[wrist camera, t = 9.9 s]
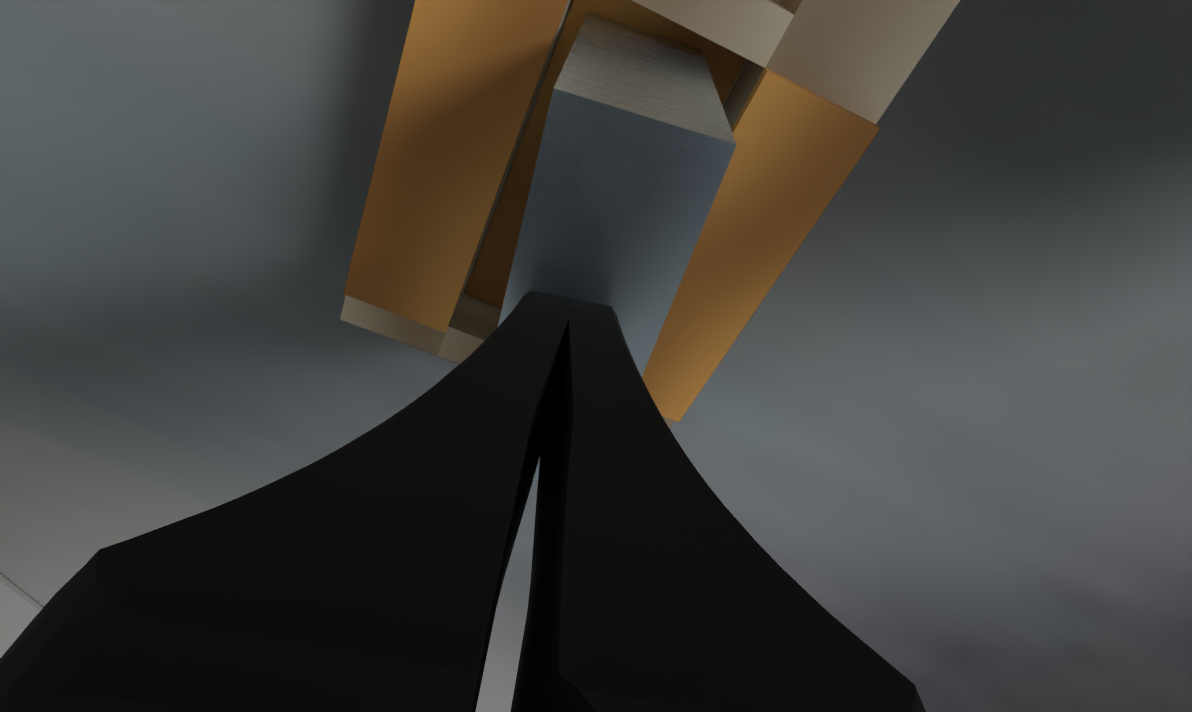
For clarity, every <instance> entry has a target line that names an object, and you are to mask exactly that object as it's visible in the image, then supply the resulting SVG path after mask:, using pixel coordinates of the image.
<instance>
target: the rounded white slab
mask: <svg viewBox="0 0 1192 712" xmlns="http://www.w3.org/2000/svg"><path fill="white" fill-rule="evenodd" d="M42 609H43V607H42V606H41V605H40V604H39V603H37V602H36V601H35V600H33V599H32V598H31V597H30V596H28V595H27V594H26V593H25V592H23V591H22V590H21V589H19V588H18V587H17V586H16V585H14V584H13V583H12V582H10V581H9V580H8V579H7V578H5V577H4V576H3V575H2V574H0V658H1V657H2V656H3V655H4V653H5V652H6V651H7V650H8V649H9V647H10V646H11V645H12V644H13V643H14V641H15V640H16V639H17V638H18V637H19V635H20V634H21V633H22V632H23V631H24V629H25V628H26V627H27V626H28V625H29V623H30V622H31V621H32V620H33V619H34V618H35V616H36V615H37V614H38V613H39V612H40V611H41V610H42Z"/></svg>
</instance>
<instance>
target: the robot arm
mask: <svg viewBox="0 0 1192 712" xmlns="http://www.w3.org/2000/svg"><path fill="white" fill-rule="evenodd" d="M539 458H540V462H539V475H538V489H537V502H536V516H535V530H534V544H533V558H532V572H531V585H530V594H529V602H528V611H527V618H526V624H525V630H524V636H523V642H522V648H521V654H520V660H519V666H518V672H517V678H516V684H515V690H514V695H513V701H512V707H511V712H926V711H925V708H924V706H923V704H922V701H921V699H920V697H919V694H918V692H917V689H916V687H915V685H914V684H913V683H912V682H911V681H910V680H908V679H907V678H906V677H905V676H904V675H902V674H901V673H900V672H899V671H898V670H896V669H895V668H894V667H893V666H892V665H890V664H889V663H888V662H887V661H886V660H884V659H883V658H882V657H881V656H880V655H878V654H877V653H876V652H875V651H874V650H873V649H871V648H870V647H869V646H868V645H867V644H865V643H864V642H863V641H862V640H861V639H859V638H858V637H857V636H856V635H855V634H853V633H852V632H851V631H850V630H849V629H847V628H846V627H845V626H844V625H843V624H841V623H840V622H839V621H838V620H837V619H835V618H834V617H833V616H832V615H831V614H830V613H829V612H828V611H826V610H825V609H824V608H823V607H822V606H821V605H820V604H819V603H818V602H817V601H816V600H815V599H814V598H813V597H811V596H810V595H809V594H808V593H807V592H806V591H805V590H804V589H803V588H802V587H801V586H800V585H799V584H798V583H797V582H796V581H795V580H794V579H793V578H792V577H791V576H789V575H788V574H787V573H786V572H785V571H784V570H783V569H782V568H781V567H780V566H779V565H778V564H777V563H776V562H775V561H774V560H773V559H772V558H771V556H770V555H769V554H768V553H767V552H766V551H765V550H764V549H763V548H762V547H761V546H760V545H759V544H758V543H757V542H756V541H755V540H754V539H753V537H752V536H751V535H750V534H749V533H748V532H747V531H746V530H745V528H744V527H743V526H742V525H741V524H740V523H739V522H738V521H737V519H736V518H735V517H734V516H733V515H732V514H731V513H730V512H729V510H728V509H727V508H726V507H725V506H724V505H723V503H722V502H721V501H720V500H719V499H718V497H717V496H716V495H715V494H714V492H713V491H712V490H711V489H710V487H709V486H708V485H707V483H706V482H705V481H704V479H703V478H702V477H701V475H700V474H699V473H698V471H697V470H696V468H695V467H694V466H693V464H692V463H691V461H690V460H689V458H688V457H687V456H686V454H685V453H684V451H683V450H682V448H681V446H680V445H679V443H678V442H677V440H676V439H675V437H674V435H673V434H672V432H671V430H670V429H669V427H668V425H667V424H666V422H665V420H664V419H663V417H662V415H661V413H660V412H659V410H658V408H657V406H656V404H655V402H654V401H653V399H652V397H651V395H650V393H649V391H648V389H647V387H646V385H645V383H644V381H643V379H642V377H641V375H640V373H639V371H638V369H637V366H636V364H635V362H634V360H633V358H632V355H631V353H630V350H629V348H628V346H627V343H626V341H625V338H624V336H623V333H622V330H621V327H620V324H619V321H618V318H617V314H616V313H615V311H614V310H613V308H612V307H611V306H607V305H602V304H597V303H592V302H587V301H582V300H577V299H572V298H567V297H562V296H557V295H552V294H547V293H542V292H538V291H533V290H532V291H530V292H528V293H526V294H525V295H523V297H522V298H521V300H520V301H519V303H518V304H517V305H516V307H515V308H514V309H513V310H512V312H511V313H510V314H509V315H508V316H507V318H506V319H505V320H504V321H503V322H502V323H501V324H500V325H499V327H498V328H497V329H496V330H495V331H494V332H493V333H492V334H491V335H490V336H489V337H488V338H487V339H486V340H485V341H484V342H483V343H482V344H481V345H480V346H479V347H478V348H477V349H476V350H475V351H474V352H473V353H472V354H471V355H470V356H468V357H467V358H466V359H465V360H464V361H463V362H462V363H461V364H459V365H458V366H457V367H456V368H455V369H454V370H452V371H451V372H450V373H449V374H448V375H446V376H445V377H444V378H443V379H442V380H440V381H439V382H438V383H437V384H436V385H435V386H433V387H432V388H431V389H430V390H428V391H427V392H426V393H424V394H423V395H422V396H420V397H419V398H418V399H416V400H415V401H414V402H412V403H411V404H409V405H408V406H407V407H405V408H404V409H402V410H401V411H399V412H398V413H396V414H395V415H393V416H392V417H390V418H389V419H387V420H386V421H385V422H383V423H381V424H380V425H378V426H377V427H375V428H373V429H372V430H370V431H368V432H367V433H365V434H363V435H362V436H360V437H358V438H357V439H355V440H353V441H352V442H350V443H348V444H347V445H345V446H343V447H342V448H340V449H338V450H336V451H334V452H333V453H331V454H329V455H327V456H325V457H324V458H322V459H320V460H318V461H316V462H314V463H312V464H310V465H308V466H306V467H304V468H302V469H300V470H298V471H296V472H294V473H291V474H289V475H287V476H285V477H283V478H281V479H279V480H277V481H275V482H273V483H270V484H268V485H266V486H264V487H262V488H260V489H257V490H255V491H253V492H251V493H248V494H246V495H244V496H242V497H239V498H237V499H234V500H232V501H230V502H227V503H225V504H222V505H220V506H217V507H215V508H213V509H210V510H207V511H204V512H202V513H199V514H196V515H194V516H191V517H188V518H186V519H183V520H180V521H178V522H175V523H172V524H169V525H167V526H164V527H161V528H159V529H156V530H153V531H151V532H148V533H145V534H143V535H140V536H137V537H134V538H132V539H129V540H126V541H123V542H120V543H117V544H114V545H111V546H109V547H106V548H103V549H100V550H99V551H98V552H97V553H96V554H95V555H94V556H93V557H92V558H91V559H90V560H89V561H88V562H87V564H86V565H85V566H84V567H83V568H82V569H81V570H80V571H78V572H77V573H76V574H75V575H74V576H73V577H72V578H71V579H70V580H69V581H68V582H67V583H66V584H65V585H64V586H63V587H62V588H61V589H60V590H59V591H58V592H57V593H56V594H55V595H54V596H53V597H52V598H51V600H50V601H49V602H48V603H47V604H46V605H45V606H44V607H43V609H42V610H41V611H40V612H39V613H38V614H37V615H36V616H35V618H34V619H33V620H32V621H31V622H30V623H29V625H28V626H27V627H26V628H25V629H24V631H23V632H22V633H21V634H20V635H19V637H18V638H17V639H16V640H15V641H14V643H13V644H12V645H11V646H10V647H9V649H8V650H7V651H6V652H5V653H4V655H3V656H2V657H1V658H0V712H475V711H476V706H477V701H478V696H479V691H480V686H481V681H482V676H483V671H484V666H485V661H486V656H487V651H488V646H489V641H490V636H491V631H492V626H493V621H494V616H495V611H496V606H497V603H498V599H499V595H500V591H501V587H502V583H503V579H504V576H505V572H506V569H507V566H508V562H509V559H510V555H511V552H512V549H513V545H514V542H515V539H516V535H517V532H518V529H519V525H520V522H521V519H522V515H523V512H524V509H525V505H526V502H527V498H528V495H529V492H530V488H531V485H532V482H533V478H534V475H535V472H536V468H537V465H538V461H539Z"/></svg>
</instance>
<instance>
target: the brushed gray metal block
mask: <svg viewBox="0 0 1192 712" xmlns="http://www.w3.org/2000/svg"><path fill="white" fill-rule="evenodd" d="M736 145H737V144H736V141H735V139H734V136H733V133H732V131H731V128H730V125H729V123H728V120H727V117H726V115H725V112H724V109H723V106H722V104H721V101H720V98H719V96H718V93H717V90H716V88H715V85H714V82H713V80H712V77H711V74H710V71H709V69H708V66H707V63H706V61H705V58H704V55H703V53H702V50H701V49H700V48H697V47H694V46H691V45H688V44H685V43H681V42H678V41H675V40H672V39H669V38H666V37H663V36H660V35H657V34H654V33H651V32H648V31H644V30H641V29H638V28H635V27H632V26H629V25H626V24H623V23H620V22H617V21H614V20H611V19H607V18H604V17H601V16H598V15H595V14H592V13H589V12H588V13H587V15H586V17H585V19H584V21H583V24H582V26H581V28H580V30H579V33H578V35H577V37H576V39H575V41H574V44H573V46H572V48H571V50H570V53H569V55H568V57H567V59H566V61H565V64H564V66H563V68H562V70H561V73H560V75H559V77H558V79H557V81H556V84H555V86H554V88H553V93H552V97H551V101H550V105H549V110H548V114H547V118H546V122H545V127H544V131H543V135H542V140H541V144H540V148H539V152H538V157H537V161H536V165H535V169H534V174H533V178H532V182H531V187H530V191H529V195H528V199H527V204H526V208H525V212H524V216H523V221H522V225H521V229H520V234H519V238H518V242H517V246H516V251H515V255H514V259H513V263H512V268H511V272H510V276H509V281H508V285H507V289H506V293H505V298H504V302H503V306H502V310H501V315H500V319H499V323H498V327H499V325H500V324H501V323H502V322H503V321H504V320H505V319H506V318H507V316H508V315H509V314H510V313H511V312H512V310H513V309H514V308H515V307H516V305H517V304H518V303H519V301H520V300H521V298H522V297H523V295H525V294H526V293H528V292H530V291H532V290H533V291H538V292H542V293H547V294H552V295H557V296H562V297H567V298H572V299H577V300H582V301H587V302H592V303H597V304H602V305H607V306H611V307H612V308H613V310H614V311H615V313H616V314H617V318H618V321H619V324H620V327H621V330H622V333H623V336H624V338H625V341H626V343H627V346H628V348H629V350H630V353H631V355H632V358H633V360H634V362H635V364H636V366H637V369H638V371H639V373H640V375H641V377H642V376H643V373H644V371H645V368H646V366H647V363H648V361H649V358H650V356H651V353H652V351H653V349H654V346H655V344H656V341H657V339H658V336H659V334H660V331H661V329H662V327H663V324H664V322H665V319H666V317H667V314H668V312H669V309H670V307H671V304H672V302H673V300H674V297H675V295H676V292H677V290H678V287H679V285H680V282H681V280H682V278H683V275H684V273H685V270H686V268H687V265H688V263H689V260H690V258H691V255H692V253H693V251H694V248H695V246H696V243H697V241H698V238H699V236H700V233H701V231H702V229H703V226H704V224H705V221H706V219H707V216H708V214H709V211H710V209H711V206H712V204H713V202H714V199H715V197H716V194H717V192H718V189H719V187H720V184H721V182H722V180H723V177H724V175H725V172H726V170H727V167H728V165H729V162H730V160H731V157H732V155H733V153H734V150H735V148H736ZM539 462H540V458H539V461H538V465H537V468H536V472H535V475H534V478H533V481H538V475H539Z"/></svg>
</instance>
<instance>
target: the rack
mask: <svg viewBox="0 0 1192 712" xmlns="http://www.w3.org/2000/svg"><path fill="white" fill-rule="evenodd" d="M959 1H960V0H415V4H414V8H413V12H412V16H411V20H410V24H409V28H408V32H407V37H406V41H405V45H404V49H403V53H402V57H401V61H400V65H399V69H398V73H397V77H396V81H395V85H394V89H393V93H392V97H391V102H390V106H389V110H388V114H387V118H386V122H385V126H384V130H383V134H382V138H381V142H380V146H379V150H378V154H377V158H376V162H375V167H374V171H373V175H372V179H371V183H370V187H369V191H368V195H367V199H366V203H365V207H364V211H363V215H362V219H361V223H360V227H359V232H358V236H357V240H356V244H355V248H354V252H353V256H352V260H351V264H350V268H349V272H348V276H347V280H346V284H345V288H344V292H343V294H345V295H346V297H345V301H344V305H343V309H342V313H341V317H340V320H343V321H345V322H348V323H351V324H353V325H356V326H359V327H361V328H364V329H367V330H369V331H372V332H375V333H377V334H380V335H383V336H386V337H388V338H391V339H394V340H396V341H399V342H402V343H404V344H407V345H410V346H412V347H415V348H418V349H420V350H423V351H426V352H428V353H431V354H434V355H436V356H439V357H442V358H444V359H447V360H450V361H452V362H455V363H458V364H461V363H462V362H463V361H464V360H465V359H466V358H467V357H468V356H470V355H471V354H472V353H473V352H474V351H475V350H476V349H477V348H478V347H479V346H480V345H481V344H482V343H483V342H484V341H485V340H486V339H487V338H488V337H489V336H490V335H491V334H492V333H493V332H494V331H495V330H496V329H497V328H498V323H499V319H500V315H501V310H502V306H503V302H504V298H505V293H506V289H507V285H508V281H509V276H510V272H511V268H512V263H513V259H514V255H515V251H516V246H517V242H518V238H519V234H520V229H521V225H522V221H523V216H524V212H525V208H526V204H527V199H528V195H529V191H530V187H531V182H532V178H533V174H534V169H535V165H536V161H537V157H538V152H539V148H540V144H541V140H542V135H543V131H544V127H545V122H546V118H547V114H548V110H549V105H550V101H551V97H552V93H553V88H554V86H555V84H556V81H557V79H558V77H559V75H560V73H561V70H562V68H563V66H564V64H565V61H566V59H567V57H568V55H569V53H570V50H571V48H572V46H573V44H574V41H575V39H576V37H577V35H578V33H579V30H580V28H581V26H582V24H583V21H584V19H585V17H586V15H587V13H588V12H589V13H592V14H595V15H598V16H601V17H604V18H607V19H611V20H614V21H617V22H620V23H623V24H626V25H629V26H632V27H635V28H638V29H641V30H644V31H648V32H651V33H654V34H657V35H660V36H663V37H666V38H669V39H672V40H675V41H678V42H681V43H685V44H688V45H691V46H694V47H697V48H700V49H701V50H702V53H703V55H704V58H705V61H706V63H707V66H708V69H709V71H710V74H711V77H712V80H713V82H714V85H715V88H716V90H717V93H718V96H719V98H720V101H721V104H722V106H723V109H724V112H725V115H726V117H727V120H728V123H729V125H730V128H731V131H732V133H733V136H734V139H735V141H736V144H737V145H736V148H735V150H734V153H733V155H732V157H731V160H730V162H729V165H728V167H727V170H726V172H725V175H724V177H723V180H722V182H721V184H720V187H719V189H718V192H717V194H716V197H715V199H714V202H713V204H712V206H711V209H710V211H709V214H708V216H707V219H706V221H705V224H704V226H703V229H702V231H701V233H700V236H699V238H698V241H697V243H696V246H695V248H694V251H693V253H692V255H691V258H690V260H689V263H688V265H687V268H686V270H685V273H684V275H683V278H682V280H681V282H680V285H679V287H678V290H677V292H676V295H675V297H674V300H673V302H672V304H671V307H670V309H669V312H668V314H667V317H666V319H665V322H664V324H663V327H662V329H661V331H660V334H659V336H658V339H657V341H656V344H655V346H654V349H653V351H652V353H651V356H650V358H649V361H648V363H647V366H646V368H645V371H644V373H643V376H642V379H643V381H644V383H645V385H646V387H647V389H648V391H649V393H650V395H651V397H652V399H653V401H654V402H655V404H656V406H657V408H658V410H659V412H660V413H661V415H662V417H663V419H664V420H665V422H666V424H667V425H668V427H669V428H670V426H671V425H672V423H673V422H674V420H675V421H677V422H679V421H680V420H681V418H682V417H683V415H684V414H685V412H686V411H687V409H688V408H689V407H690V405H691V404H692V402H693V401H694V399H695V398H696V396H697V395H698V393H699V392H700V391H701V389H702V388H703V386H704V385H705V383H706V382H707V380H708V379H709V377H710V376H711V375H712V373H713V372H714V370H715V369H716V367H717V366H718V364H719V363H720V361H721V360H722V359H723V357H724V356H725V354H726V353H727V351H728V350H729V348H730V347H731V345H732V344H733V343H734V341H735V340H736V338H737V337H738V335H739V334H740V332H741V331H742V329H743V328H744V326H745V325H746V324H747V322H748V321H749V319H750V318H751V316H752V315H753V313H754V312H755V310H756V309H757V308H758V306H759V305H760V303H761V302H762V300H763V299H764V297H765V296H766V294H767V293H768V292H769V290H770V289H771V287H772V286H773V284H774V283H775V281H776V280H777V278H778V277H779V276H780V274H781V273H782V271H783V270H784V268H785V267H786V265H787V264H788V262H789V261H790V260H791V258H792V257H793V255H794V254H795V252H796V251H797V249H798V248H799V246H800V245H801V244H802V242H803V241H804V239H805V238H806V236H807V235H808V233H809V232H810V230H811V229H812V227H813V226H814V225H815V223H816V222H817V220H818V219H819V217H820V216H821V214H822V213H823V211H824V210H825V209H826V207H827V206H828V204H829V203H830V201H831V200H832V198H833V197H834V195H835V194H836V193H837V191H838V190H839V188H840V187H841V185H842V184H843V182H844V181H845V179H846V178H847V177H848V175H849V174H850V172H851V171H852V169H853V168H854V166H855V165H856V163H857V162H858V161H859V159H860V158H861V156H862V155H863V153H864V152H865V150H866V149H867V147H868V146H869V144H870V143H871V142H872V140H873V139H874V137H875V136H876V134H877V133H878V131H879V130H880V128H879V127H878V126H877V125H876V123H877V122H878V121H879V119H880V118H881V116H882V115H883V113H884V112H885V110H886V109H887V107H888V106H889V104H890V103H891V101H892V100H893V98H894V97H895V96H896V94H897V93H898V91H899V90H900V88H901V87H902V85H903V84H904V82H905V81H906V79H907V78H908V76H909V75H910V73H911V72H912V71H913V69H914V68H915V66H916V65H917V63H918V62H919V60H920V59H921V57H922V56H923V54H924V53H925V51H926V50H927V48H928V47H929V46H930V44H931V43H932V41H933V40H934V38H935V37H936V35H937V34H938V32H939V31H940V29H941V28H942V26H943V25H944V23H945V22H946V21H947V19H948V18H949V16H950V15H951V13H952V12H953V10H954V9H955V7H956V6H957V4H958V3H959Z"/></svg>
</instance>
